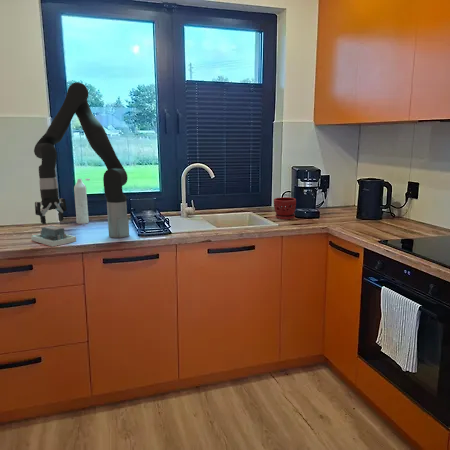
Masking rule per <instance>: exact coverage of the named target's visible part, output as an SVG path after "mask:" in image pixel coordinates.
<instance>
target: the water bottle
mask: <svg viewBox="0 0 450 450" xmlns="http://www.w3.org/2000/svg"><path fill="white" fill-rule="evenodd" d="M84 179H85V180H84V181H91V178H89V177H88V178H84ZM76 180H77V181H76V183H75V185H74V186H73V191H74V193H73V194H74V205H75V215H76V216H75V218H76V224H77V225H78V224H79V225H84V224H88V223H89V222H90V221H89V208H88V207H89V206H88V197H87V195H88V194H87V186H86V185H85V183H84V182H83V180H82V178H77V179H76Z"/></svg>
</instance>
